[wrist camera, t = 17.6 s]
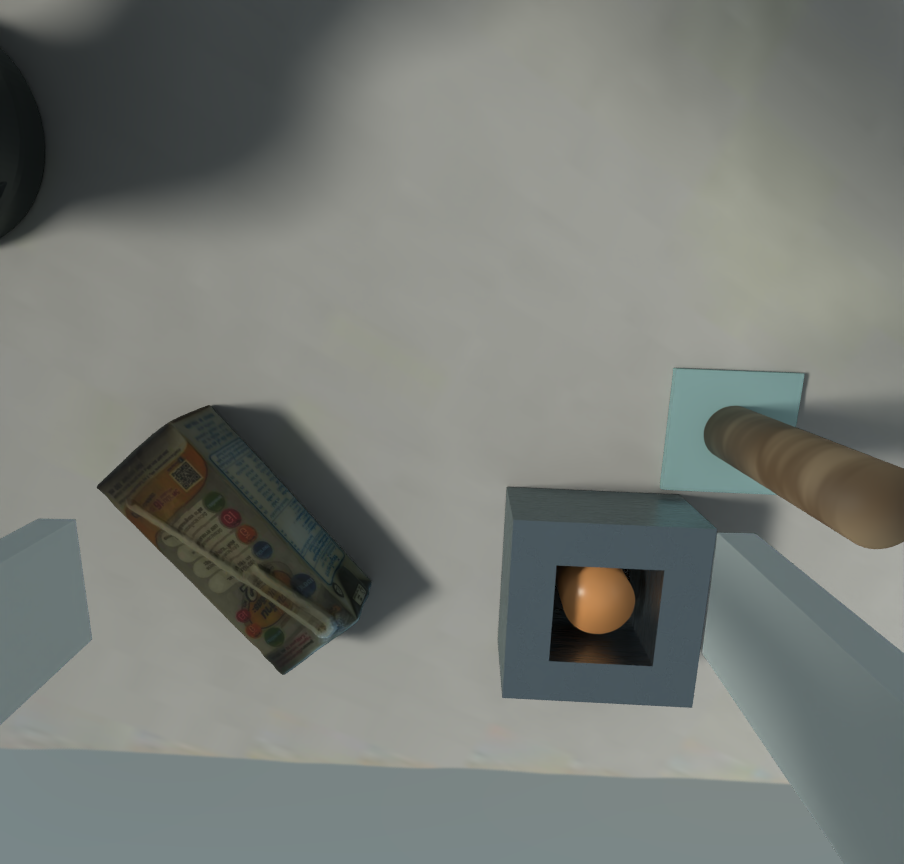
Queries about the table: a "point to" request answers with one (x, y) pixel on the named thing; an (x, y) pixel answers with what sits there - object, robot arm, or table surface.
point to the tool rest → (698, 401)
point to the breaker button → (595, 597)
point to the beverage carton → (239, 537)
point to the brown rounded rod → (814, 475)
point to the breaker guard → (607, 546)
